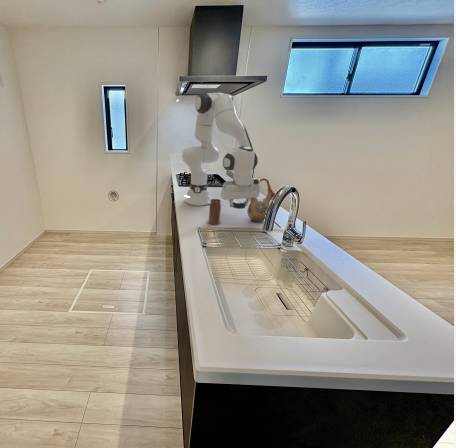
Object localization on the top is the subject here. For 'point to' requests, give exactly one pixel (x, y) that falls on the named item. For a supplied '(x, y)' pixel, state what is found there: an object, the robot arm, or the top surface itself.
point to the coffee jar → (214, 211)
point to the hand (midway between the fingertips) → (238, 206)
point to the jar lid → (239, 204)
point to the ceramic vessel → (260, 205)
